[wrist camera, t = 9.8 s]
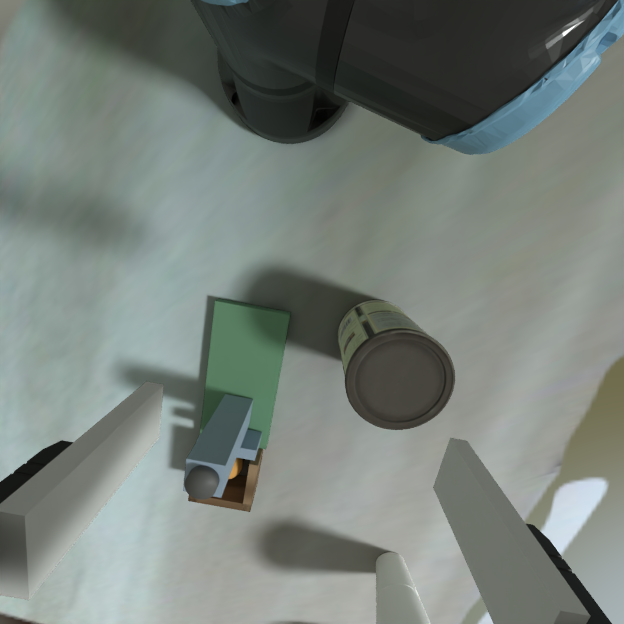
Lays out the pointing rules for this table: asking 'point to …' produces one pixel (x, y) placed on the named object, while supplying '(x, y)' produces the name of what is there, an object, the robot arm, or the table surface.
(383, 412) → the coffee can
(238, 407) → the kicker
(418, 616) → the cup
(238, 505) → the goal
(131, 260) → the table surface
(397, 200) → the table surface
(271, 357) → the plate
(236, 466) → the ball
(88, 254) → the table surface
